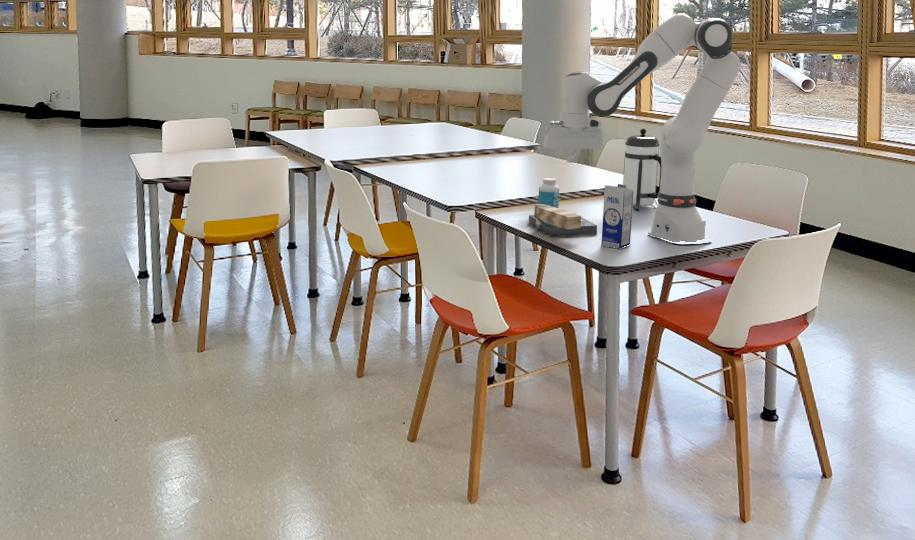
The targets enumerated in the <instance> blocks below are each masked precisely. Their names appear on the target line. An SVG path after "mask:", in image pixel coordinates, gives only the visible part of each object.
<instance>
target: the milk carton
mask: <svg viewBox="0 0 915 540" xmlns="http://www.w3.org/2000/svg"><path fill="white" fill-rule="evenodd" d="M603 192H604V195H603V207H602V208H603V209H602V210H603V211H602V227H601V230H602V231H601V245H600V246H601V247H605V246H609V247H608V248H610V247H615V248H622V247H624V246H627V245H629V244H630V245H631V238H632V237H631V236H632V235H631V234H632V233H631V232H632V221H633V220H632V219H633V218H632V217H633V208H634V206H633V192H634V191H633V190H631V189H628V188H626V185H624V184H623V183H622V184H621V183H617V186H616V185H615V186H614V185H606V184H605V185H604V191H603ZM602 245H603V246H602ZM615 248H614V249H615ZM622 249H623V248H622Z"/></svg>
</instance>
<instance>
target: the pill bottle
mask: <svg viewBox="0 0 915 540" xmlns="http://www.w3.org/2000/svg"><path fill="white" fill-rule="evenodd" d="M556 183H557V179H556V178H552V177H544V178H542V184H540V185H539V186H538V204H544V205H548V206H552V207H555V208H558V209H559V206H560V205H559V204H560V203H559V202H560V187H559V185H557V184H556Z"/></svg>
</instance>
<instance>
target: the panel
mask: <svg viewBox="0 0 915 540" xmlns="http://www.w3.org/2000/svg"><path fill="white" fill-rule="evenodd" d="M573 213H574V214H576V213H575V212H573ZM528 224H529V225H530V226H532V227H534V228H535V231H538V232H541V233H543V234H544V235H545V236H548V237H549V238H552V237H555V238H556V237H569V236H572V237H573V236H587V235H597V234H598V225H597V224H595V223H593V221H589V220H588V219H586V218H584V217H583V216H581V228H575V229H566V228H563V227H560V226H557V225H554V224H551V223H548V222H545V221H543V220H540V219H537V218H535V217H534V214H529V215H528Z"/></svg>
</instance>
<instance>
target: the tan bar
mask: <svg viewBox="0 0 915 540" xmlns="http://www.w3.org/2000/svg"><path fill="white" fill-rule="evenodd" d="M574 213H575V212H570V211H567V210H564V209H561V208H559V207H558V208H555V207H552V206H548V205H544V204H537V203H536V204H534V214H533V215H534V217H535V218H537V219H540V220H543V221H545V222H548V223H551V224H554V225H557V226H560V227H563V228H566V229H575V228H581V217H582V216H581V215H580V214H577V213H575V214H574Z"/></svg>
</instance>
